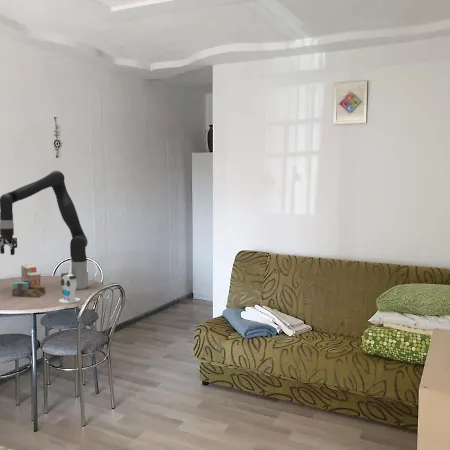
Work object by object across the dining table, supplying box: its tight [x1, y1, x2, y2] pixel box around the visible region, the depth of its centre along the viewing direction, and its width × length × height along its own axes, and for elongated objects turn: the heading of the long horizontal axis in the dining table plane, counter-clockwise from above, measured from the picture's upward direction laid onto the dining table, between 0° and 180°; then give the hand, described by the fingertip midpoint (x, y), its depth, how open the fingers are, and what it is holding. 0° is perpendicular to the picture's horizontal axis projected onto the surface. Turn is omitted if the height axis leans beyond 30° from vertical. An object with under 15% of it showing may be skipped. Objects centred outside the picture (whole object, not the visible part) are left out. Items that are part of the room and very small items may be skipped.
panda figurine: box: [58, 272, 81, 304], centre depth 272 cm, size 12×11×15 cm
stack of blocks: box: [20, 264, 42, 287], centre depth 305 cm, size 21×6×12 cm, turn 37°
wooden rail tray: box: [11, 281, 46, 298], centre depth 282 cm, size 16×8×8 cm, turn 85°
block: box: [12, 281, 29, 290], centre depth 283 cm, size 7×5×6 cm
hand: (7, 254), depth 288 cm, fingers open, 8 cm apart
